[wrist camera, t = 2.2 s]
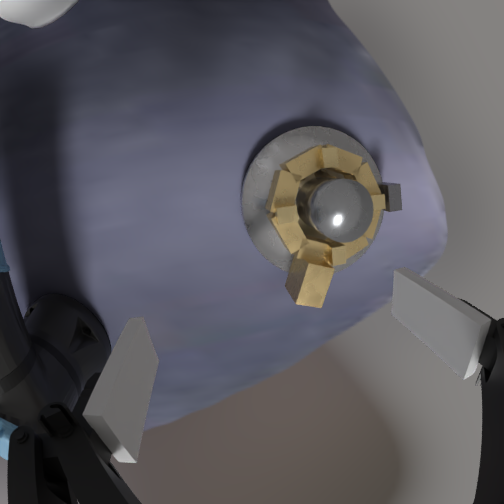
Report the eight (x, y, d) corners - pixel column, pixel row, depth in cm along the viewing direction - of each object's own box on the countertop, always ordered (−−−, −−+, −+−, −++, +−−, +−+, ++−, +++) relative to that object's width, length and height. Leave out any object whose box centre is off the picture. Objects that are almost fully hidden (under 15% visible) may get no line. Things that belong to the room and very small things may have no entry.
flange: (353, 282, 37) (387, 310, 29) (225, 255, 34) (228, 283, 25) (389, 156, 33) (432, 156, 25) (262, 110, 30) (278, 88, 21)
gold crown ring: (339, 295, 35) (356, 313, 30) (246, 278, 33) (252, 296, 28) (377, 169, 31) (401, 170, 26) (283, 135, 29) (296, 128, 24)
